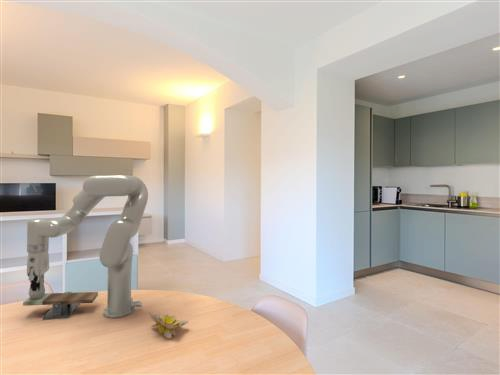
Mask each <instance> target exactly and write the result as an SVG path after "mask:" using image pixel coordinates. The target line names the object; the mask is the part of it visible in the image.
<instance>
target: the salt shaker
mask: <svg viewBox="0 0 500 375" xmlns="http://www.w3.org/2000/svg"><path fill="white" fill-rule="evenodd" d="M34 275H36V274H34ZM34 278H36V279H37V277H34ZM39 282H40V289H39V290H38V287H37V290H36V291H32V288H31V283H30V285H29V290H28V296H29V297H30V298H31V299H39V298H41V297H43V295H44V293H45V292H46V289H45V282H44V283H43V278H42V275H41V276H39Z"/></svg>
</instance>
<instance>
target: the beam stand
mask: <svg viewBox="0 0 500 375" xmlns="http://www.w3.org/2000/svg"><path fill="white" fill-rule="evenodd" d="M64 293H73V292H72V291H67V292H64ZM80 305H81V304H62V302H58V303H53V305H52V307H51V308H50V309H49V310H48V311H47V312H46V313H45V314H44V315H43V316H42V319H41V320H42V321H46V320H48V321H49V320H60V319H69V318H71V316H72V315H73V314H74V313H75V312H76V310H77V309H78V307H79V306H80Z"/></svg>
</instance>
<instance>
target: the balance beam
mask: <svg viewBox="0 0 500 375" xmlns="http://www.w3.org/2000/svg"><path fill="white" fill-rule="evenodd" d="M98 296H99V292H98V291H84V292H72V293H65V292H55V293H54V292H51V293H50V292H48V293H44V295H43V297H41V298H39V299H31V298H30V296H29V297H27V298H26V299H25V300H24V301H23V302H22V306H23V307H26V306H27V307H28V306H51V305H52V306H53V303H58V302H62V304H80V305H83V304H93V303H94V302H95V300H96V298H98Z"/></svg>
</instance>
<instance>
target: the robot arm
mask: <svg viewBox="0 0 500 375" xmlns="http://www.w3.org/2000/svg"><path fill="white" fill-rule="evenodd" d="M105 197H127V199H126V202H125V204H124V206H123V209H122V212H121V215H120V217H119V218H118V219H116V220H115V221H113V222H112V223H111V224H110V225H109V226H108V229H107V232H106V234H105V237H104V241H103V242H102V245H101V248H100V252H99V261H100V263H101V265H102V266H103V267H105V268H107V307H105V308H104V309H103V314H102V315H103V316H104V317H106V318H112V319H113V318H114V319H115V318H116V319H117V318H121V317H126V316H129V315H131V314H132V313H133V312H134V311H135V309H136V308H142V304H143V302H142V301H140V300H134V299H133V297H132V264H133V263H132V262H133V256H134V254H133V253H134V250H133V245H132V243H131V239H132V238H133V237H135V236H136V235H137V234H138V231H139V229H140V225H141V222H142V220H143V216H144V212H145V209H146V207H147V203H148V200H149V199H148V198H149V191H148V188H147V185H146V183H145V182H144V181H143V180H142V179H140V178H139V177H137V176H135V175H130V174H129V175H128V174H127V175H126V174H124V175H123V174H121V175H120V174H119V175H91V176H88V177H87V178H86V179H85V180H84V181H83V184H82V190H80V191H79V192H78V193H77V194H76V195H75V196H73V198H72V204H73V205H72V207H71V208H70V209H69V210H68V211H67V212H66V213H65V214H63V215H62V216H61V217H57V218H53V219H50V220H49V219H48V218H43V217H41V218H40V217H37V218H31V219H29V220H28V221H27V224H26V225H27V227H26V231H27V232H26V253H28V254H27V261H26V276H28V277H27V278H28V281H29V283H30V284H31V288H32V291H36V290H37V287H38V290H39V289H40V282H39V276H41V275H42V278H43V283H44V284H45V274H46V272H48V271H49V270H50V256H49V250H50V249H49V246H50V245H49V243H50V239H51V238H52V239H53V238H58V237H60V236H63V235H66V234H69V233H71V232H72V231H73V230H75V229H76V228H77V227H78V226H79V225H80V224H81V223H82V222H83V221H84V220H85V219H86V217H88V215H89V213H90V211H92V210H93V209H94V208H95V207H96V206H97V205H98V204H99V203H100V202H101V201H102V200H104V198H105ZM34 274H36V275H34ZM34 277H37V279H36V278H34Z"/></svg>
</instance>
